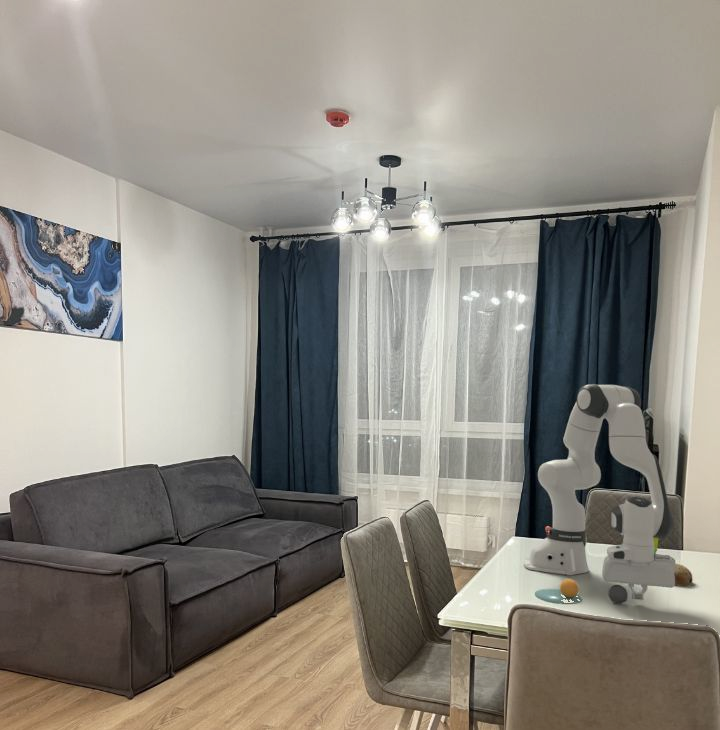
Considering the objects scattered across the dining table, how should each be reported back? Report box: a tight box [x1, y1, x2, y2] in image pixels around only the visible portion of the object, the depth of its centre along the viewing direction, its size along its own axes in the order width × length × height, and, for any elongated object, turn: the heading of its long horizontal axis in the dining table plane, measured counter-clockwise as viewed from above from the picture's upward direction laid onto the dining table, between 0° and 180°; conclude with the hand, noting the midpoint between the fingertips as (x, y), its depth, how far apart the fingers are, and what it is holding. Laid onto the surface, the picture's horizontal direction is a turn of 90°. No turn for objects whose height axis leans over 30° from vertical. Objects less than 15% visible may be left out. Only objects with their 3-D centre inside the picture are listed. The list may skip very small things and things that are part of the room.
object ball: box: [559, 578, 580, 598], centre depth 206 cm, size 6×6×6 cm
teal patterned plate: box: [534, 588, 583, 604], centre depth 206 cm, size 14×14×1 cm
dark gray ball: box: [607, 584, 629, 605], centre depth 201 cm, size 6×6×6 cm
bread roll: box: [674, 563, 693, 587], centre depth 226 cm, size 10×10×8 cm
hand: (637, 598), depth 201 cm, fingers closed
